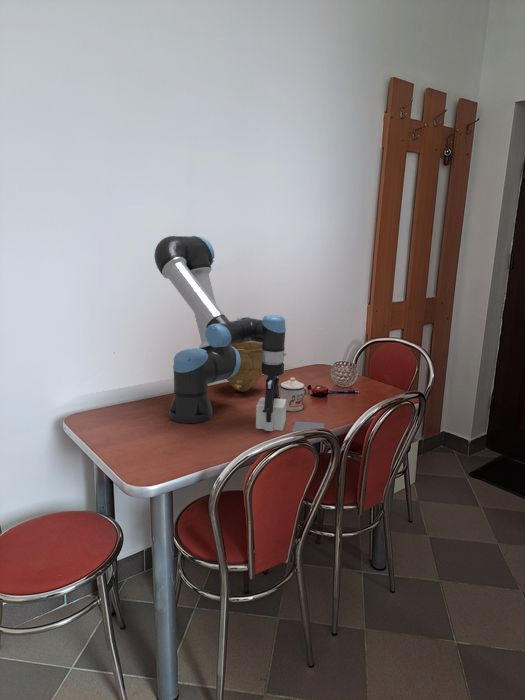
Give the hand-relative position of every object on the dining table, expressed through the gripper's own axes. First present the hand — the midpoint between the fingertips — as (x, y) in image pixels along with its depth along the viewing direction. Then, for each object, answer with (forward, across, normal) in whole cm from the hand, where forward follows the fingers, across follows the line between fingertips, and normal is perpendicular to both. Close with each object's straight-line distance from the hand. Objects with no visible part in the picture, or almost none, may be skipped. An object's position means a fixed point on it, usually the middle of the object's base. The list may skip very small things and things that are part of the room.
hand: (271, 424), depth 173 cm
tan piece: (0, +34, +17) cm, 38 cm away
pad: (0, -1, -13) cm, 13 cm away
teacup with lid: (0, +20, -6) cm, 21 cm away
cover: (0, 0, 0) cm, 0 cm away
